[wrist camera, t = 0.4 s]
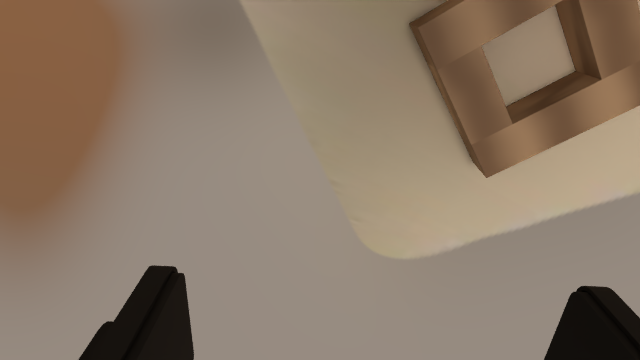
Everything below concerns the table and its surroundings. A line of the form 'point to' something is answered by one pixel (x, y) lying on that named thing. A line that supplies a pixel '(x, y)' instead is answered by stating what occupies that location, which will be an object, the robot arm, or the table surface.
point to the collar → (545, 104)
